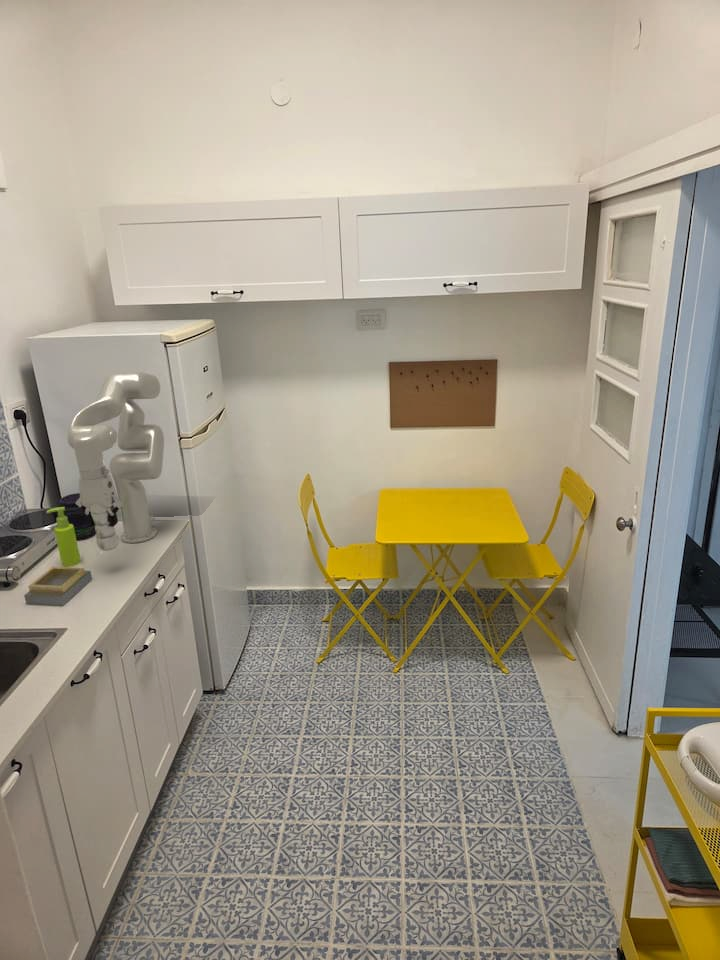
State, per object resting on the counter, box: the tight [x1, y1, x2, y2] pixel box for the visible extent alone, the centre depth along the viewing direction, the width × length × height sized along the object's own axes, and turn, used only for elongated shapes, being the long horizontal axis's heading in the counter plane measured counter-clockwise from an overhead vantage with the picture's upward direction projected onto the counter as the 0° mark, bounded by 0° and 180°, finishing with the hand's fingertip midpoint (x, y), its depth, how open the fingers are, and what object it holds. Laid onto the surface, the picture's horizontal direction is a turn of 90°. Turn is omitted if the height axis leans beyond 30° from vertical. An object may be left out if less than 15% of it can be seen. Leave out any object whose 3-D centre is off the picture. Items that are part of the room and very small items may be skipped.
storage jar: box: [59, 492, 96, 542], centre depth 229 cm, size 10×10×15 cm
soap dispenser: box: [46, 506, 81, 568], centre depth 208 cm, size 6×7×20 cm
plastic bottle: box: [89, 504, 119, 551], centre depth 198 cm, size 6×7×20 cm
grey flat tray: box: [23, 566, 93, 607], centre depth 192 cm, size 16×12×5 cm
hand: (104, 524), depth 199 cm, fingers closed on plastic bottle, 6 cm apart
